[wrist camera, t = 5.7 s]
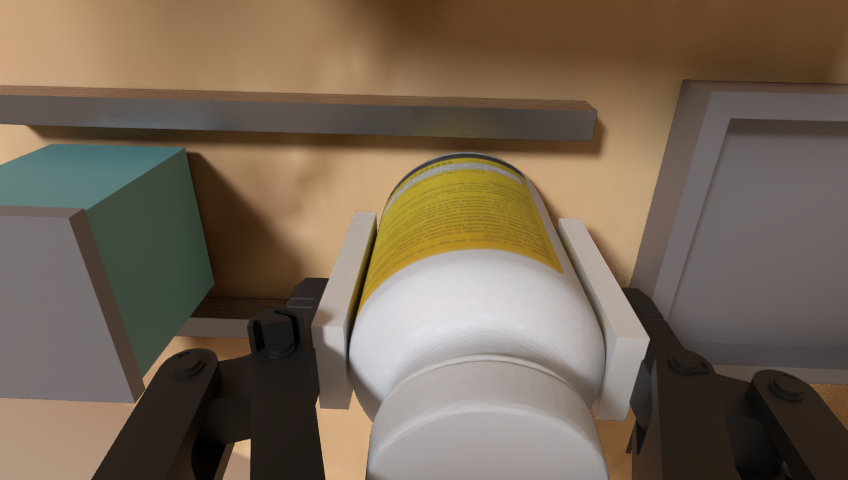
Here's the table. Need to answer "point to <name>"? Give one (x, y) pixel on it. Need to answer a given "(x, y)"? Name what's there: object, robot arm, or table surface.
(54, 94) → the guide rail
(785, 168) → the tray
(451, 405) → the pill bottle
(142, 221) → the teal and grey cube
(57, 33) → the table surface
